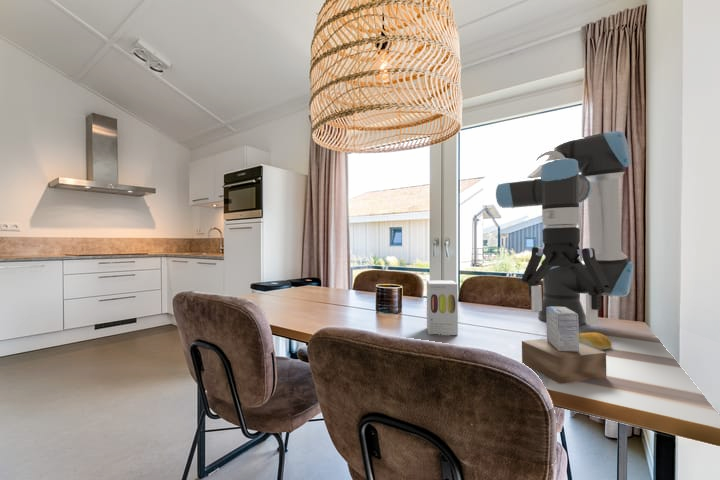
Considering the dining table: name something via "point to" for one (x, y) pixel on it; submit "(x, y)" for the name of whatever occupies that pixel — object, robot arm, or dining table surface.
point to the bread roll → (595, 340)
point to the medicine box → (562, 329)
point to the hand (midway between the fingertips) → (562, 317)
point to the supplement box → (442, 307)
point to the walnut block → (564, 361)
